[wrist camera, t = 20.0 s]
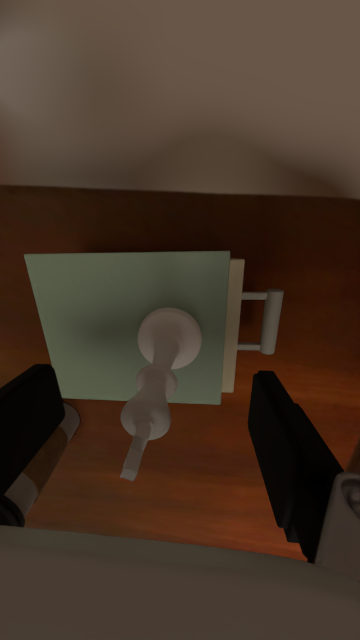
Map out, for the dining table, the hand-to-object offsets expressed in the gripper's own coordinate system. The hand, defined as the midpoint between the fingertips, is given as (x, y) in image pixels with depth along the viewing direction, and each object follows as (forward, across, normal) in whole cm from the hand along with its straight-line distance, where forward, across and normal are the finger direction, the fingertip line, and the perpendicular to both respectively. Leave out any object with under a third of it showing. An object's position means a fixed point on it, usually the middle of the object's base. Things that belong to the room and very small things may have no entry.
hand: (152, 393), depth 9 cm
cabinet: (+16, +3, 0) cm, 16 cm away
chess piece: (+7, 0, 0) cm, 7 cm away
